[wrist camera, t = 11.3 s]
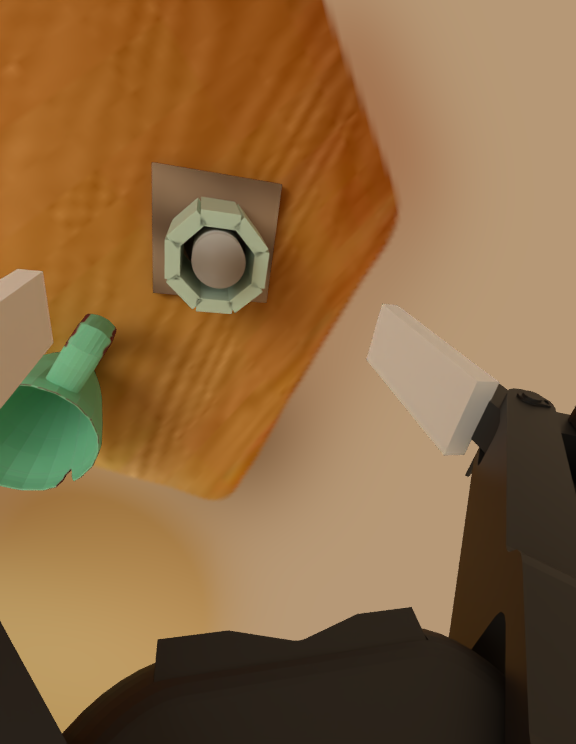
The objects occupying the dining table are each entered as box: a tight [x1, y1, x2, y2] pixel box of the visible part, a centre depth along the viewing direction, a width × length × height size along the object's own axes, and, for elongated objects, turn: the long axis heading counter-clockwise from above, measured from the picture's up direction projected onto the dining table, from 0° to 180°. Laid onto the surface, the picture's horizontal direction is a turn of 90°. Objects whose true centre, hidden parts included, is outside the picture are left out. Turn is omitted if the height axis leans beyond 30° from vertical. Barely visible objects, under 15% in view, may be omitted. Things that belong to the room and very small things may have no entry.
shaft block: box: [152, 162, 282, 303], centre depth 28 cm, size 10×10×9 cm
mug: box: [0, 314, 116, 490], centre depth 31 cm, size 15×10×10 cm
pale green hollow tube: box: [165, 197, 269, 314], centre depth 28 cm, size 7×7×6 cm
